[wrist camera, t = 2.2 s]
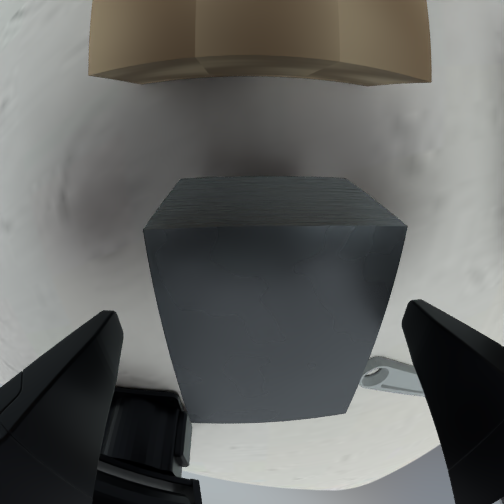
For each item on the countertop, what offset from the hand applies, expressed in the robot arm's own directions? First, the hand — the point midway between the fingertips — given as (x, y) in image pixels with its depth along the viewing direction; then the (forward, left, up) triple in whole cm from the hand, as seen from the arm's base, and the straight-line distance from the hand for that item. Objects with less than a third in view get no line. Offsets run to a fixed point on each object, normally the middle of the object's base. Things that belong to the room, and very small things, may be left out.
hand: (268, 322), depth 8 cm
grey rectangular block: (0, 0, -7) cm, 7 cm away
